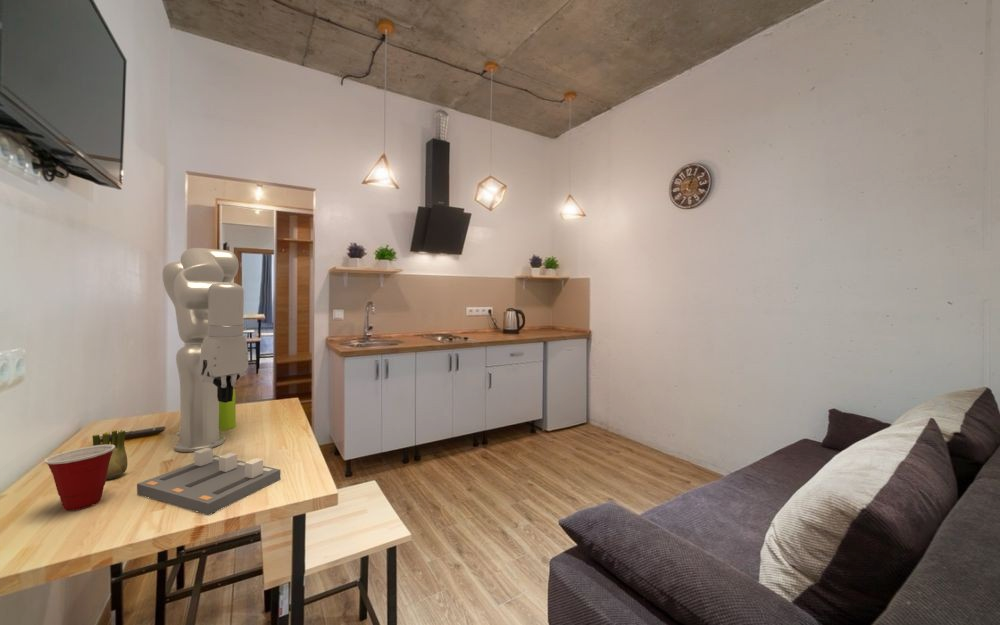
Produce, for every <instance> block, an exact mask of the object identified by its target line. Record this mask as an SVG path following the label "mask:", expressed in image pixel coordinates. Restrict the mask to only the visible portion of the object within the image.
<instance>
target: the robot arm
mask: <svg viewBox="0 0 1000 625" xmlns="http://www.w3.org/2000/svg"><path fill="white" fill-rule="evenodd" d="M238 272H239V260H238V257H237V255H236V254H235V253H234V252H232V251H230V250H226V249H218V248H206V247H193V248H191V247H190V248H189V249H186V250H184V251H183V253H182V254H181V255H180V261H174V262H170V263H169V262H168V263H166V264H165V265H164V267H163V268H162V283H163V286H164V289H165V291H166V293H167V295H168V297H169V299H170V300H171V302H172V303H173V306H174V309H175V316H176V324H177V332H178V336H179V338H180V340H181V341H182V342H183V343H185V344H188V345H185V346H182V347H180V349H179V350H177V352H176V356H175V363H176V367H177V372H178V376H179V377H178V378H179V395H180V396H179V398H180V399H179V401H180V430H179V431H176V433H175V435H176V436H179V441H177V442H176V443H174V444H173V450H174V451H175V452H180V453H190V452H195V451H198V450H201V449H204V448H211V449H213V448H215V447H218V446H221V445H222V444H223V443H224V442H225V441H226V437H225V436H224V435H223V434H220V430H219V401H220V402H224V403H227V402H228V401H229V402H231V401H232V397H233V389H234V386H236V383H237V381H238V379H239V378H242V377H244V376H246V375H247V374H248V373H247V370H248V369H249V368H248V367H249V350H248V344H247V338H246V336H245V335H244V331H247V329H248V328H247V326H246V325H244V303H245V302H244V299H245V298H244V297H245V296H244V295H245V294H244V292H245V291H244V287H243V286H242V285H240V284H238V283H235V282H233V280H234V278H235V277H236V276H237V274H238Z"/></svg>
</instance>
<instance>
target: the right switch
mask: <svg viewBox="0 0 1000 625" xmlns="http://www.w3.org/2000/svg"><path fill="white" fill-rule="evenodd" d="M244 462H245V477H248V478H254V477H256V476H258V475H260V474H263V466H264V459H263V458H257V457H256V458H252V459H249V460H248V461H244Z"/></svg>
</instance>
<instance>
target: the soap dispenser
mask: <svg viewBox="0 0 1000 625" xmlns="http://www.w3.org/2000/svg"><path fill="white" fill-rule="evenodd" d="M236 416H237V415H236V389H234V388H233V397H232V401H231V402H229V401H228V402H227V403H224V402H220V401H219V431H226V430H227V429H228V430H231V428H232V429H234V428H235V427H236V425H237V424H236V420H237V419H236Z"/></svg>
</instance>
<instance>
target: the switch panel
mask: <svg viewBox="0 0 1000 625" xmlns="http://www.w3.org/2000/svg"><path fill="white" fill-rule="evenodd" d="M220 456H221V455H215V454H214V455H213V462H211V463H208V464H206V465H203V466H197V465H194V462H193V463H190V464H188V465H184V466H182V467H179V468H177V469H174V470H171V471H168V472H166V473H163V474H160V475H157V476H155V477H153V478H150V479H146V480H144V481H141V482H138V483H137V484H136V494H137V495H139V496H141V495H142V497H145V496H146V497H145V498H148V497H149V499H153V500H156V501H159V502H162V503H166V504H170V505H172V506H176V507H179V508H183V509H187V510H190V511H194V512H196V511H198V512H197V513H200V512H201V513H200V514H203V513H204V514H203V515H206V514H207V516H210V515H211V513H212V514H214V513H216V512H218V511H219V509H220V510H221V508H222V509H223V507H224V508H225V506H226V507H228V506H229V504H230V505H232V504H234V503H236V502H238V501H240V500H242V499H244V498H245V497H247V496H251V495H252V494H254V493H256V492H257V491H260V490H262V489H263V488H264V489H265V487H267V486H269V485H271V484H274V483H276V482H278V481H279V480H281V469H280V468H274V467H269V466H265V465H263V474H260V475H258V476H256V477H254V478H248V477H245V462H246V461H242V460H239V459H237V468H235V469H232V470H230V471H227V472H223V471H219V457H220ZM233 502H234V503H233ZM231 503H232V504H231ZM227 505H228V506H227ZM217 510H218V511H217ZM215 511H216V512H215ZM213 512H214V513H213ZM209 514H210V515H209Z"/></svg>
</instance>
